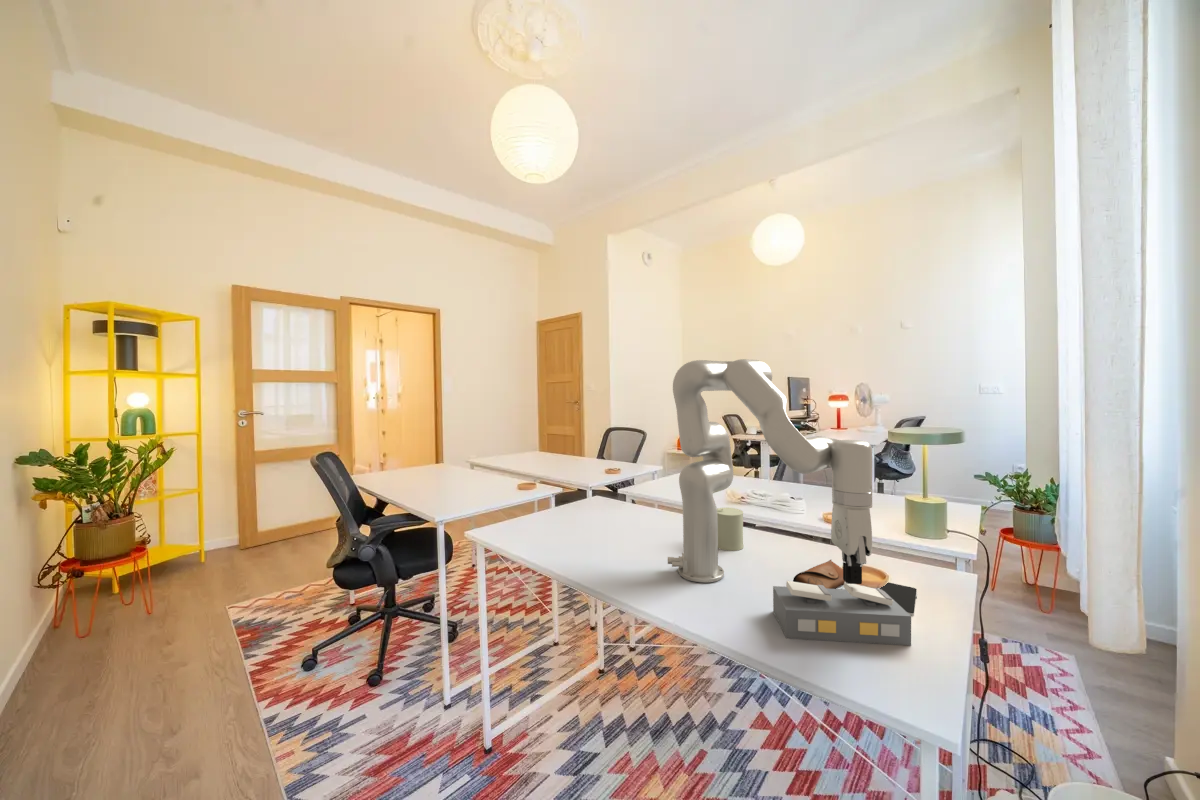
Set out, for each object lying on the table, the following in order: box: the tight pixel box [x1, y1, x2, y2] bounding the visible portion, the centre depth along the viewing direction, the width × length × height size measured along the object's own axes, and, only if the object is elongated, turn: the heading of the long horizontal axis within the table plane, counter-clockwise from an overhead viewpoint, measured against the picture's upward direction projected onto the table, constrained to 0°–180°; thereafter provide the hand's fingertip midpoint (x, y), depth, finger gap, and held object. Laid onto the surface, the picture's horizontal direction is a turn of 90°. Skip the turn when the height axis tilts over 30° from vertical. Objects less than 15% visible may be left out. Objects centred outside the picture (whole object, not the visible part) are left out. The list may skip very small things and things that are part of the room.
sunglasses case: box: [792, 559, 845, 589], centre depth 118 cm, size 18×7×7 cm, turn 125°
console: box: [772, 585, 912, 647], centre depth 96 cm, size 24×11×7 cm, turn 82°
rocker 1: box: [785, 580, 832, 601], centre depth 97 cm, size 8×4×1 cm, turn 82°
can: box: [717, 507, 744, 552], centre depth 146 cm, size 9×9×12 cm
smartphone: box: [877, 581, 918, 617], centre depth 108 cm, size 8×1×15 cm
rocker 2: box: [842, 582, 893, 606], centre depth 95 cm, size 8×4×1 cm, turn 82°
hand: (852, 582), depth 95 cm, fingers closed
